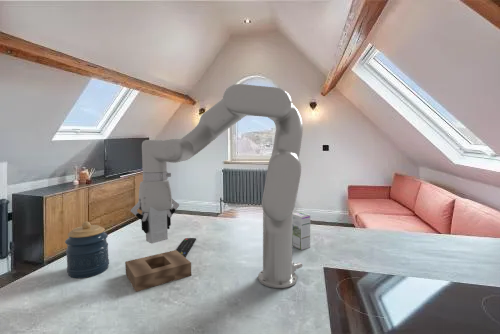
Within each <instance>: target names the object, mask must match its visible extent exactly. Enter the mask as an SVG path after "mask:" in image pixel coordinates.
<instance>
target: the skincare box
mask: <svg viewBox="0 0 500 334" xmlns="http://www.w3.org/2000/svg"><path fill="white" fill-rule="evenodd" d="M146 220H147V221H148V233H145V241H146V242H148V243H149V244H155V243H158V242H163V241H166V240H168V239H169V238H168V236H169V235H168V234H169V233H168V229H167V210H162V211H157V210H155V209H154V208H149V213H148V216H147V218H146Z"/></svg>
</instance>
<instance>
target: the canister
mask: <svg viewBox="0 0 500 334" xmlns="http://www.w3.org/2000/svg"><path fill="white" fill-rule="evenodd" d="M105 231H106V229H105V228H104V227H103V226H101V225H99V224H91V222H90V221H84V222H83V223H82V224H81V226H78V227H74V228H73V229H72V230H70V231H69V232H68V233H67V237H68V238H66V239H65V240H64V244H65V245H66V249H65V253H66V265H67V267H66V273H67V274H68V277H70V278H72V279H85V278H90V277H94V276H97V275H100V274H102V273H104V272H105V271H107V269H109V264H110V259H109V243H108V242H107V238H108V237H109V236H108V235H109V234H108V233H106V232H105Z"/></svg>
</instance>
